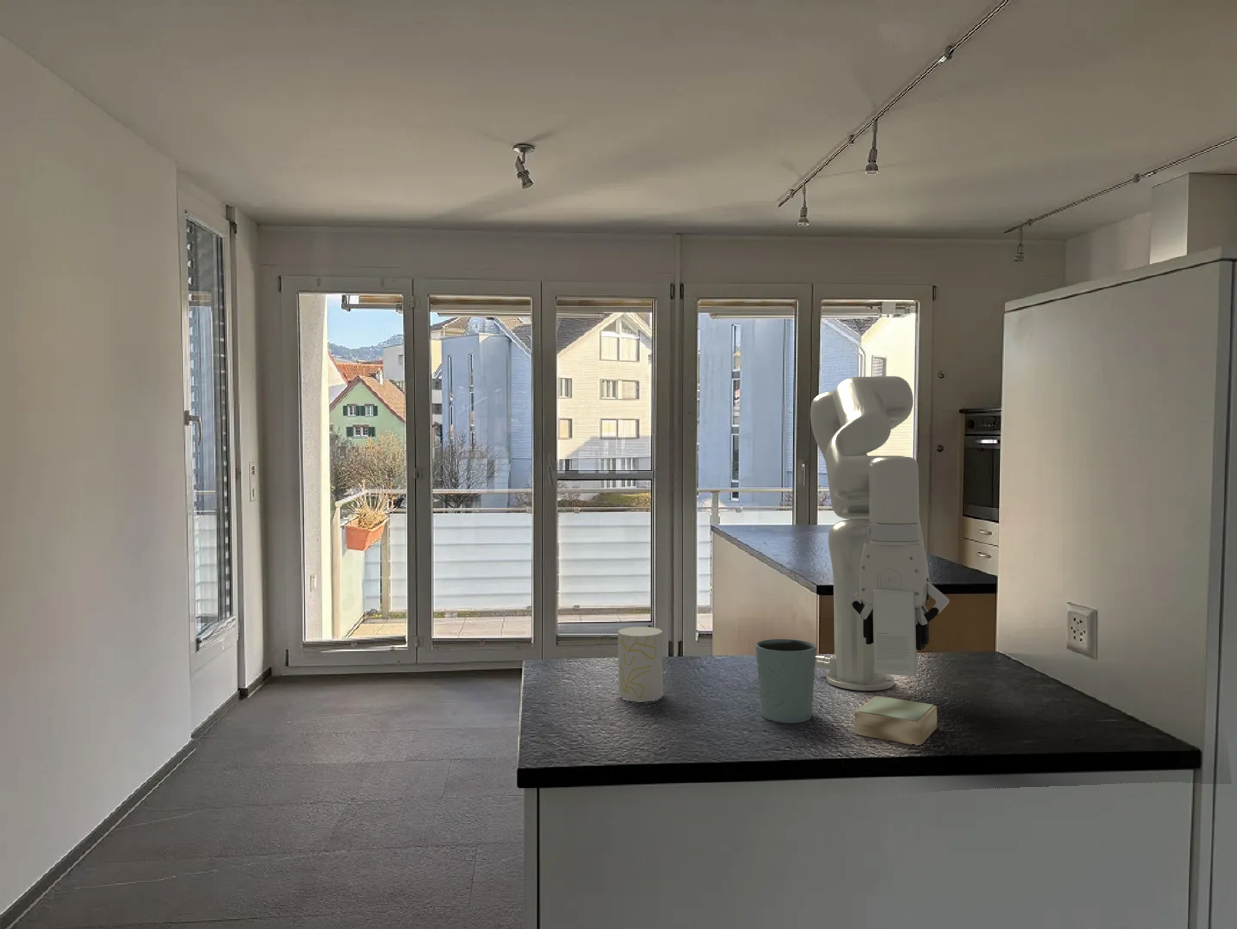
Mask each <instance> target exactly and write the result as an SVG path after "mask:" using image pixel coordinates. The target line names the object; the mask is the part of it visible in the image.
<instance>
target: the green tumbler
mask: <svg viewBox="0 0 1237 929" xmlns="http://www.w3.org/2000/svg"><path fill="white" fill-rule="evenodd" d="M755 653H756V654H755V656H756V663H757V673H758V674H757V679H758V691H759V692H758V693H759V694H758V695H759V708H760V714H761V716H762V718H764V719H765V720H768V721H771V720H772V721H771V722H774V723H775V722H776V723H781V724H782V723H783V724H798V723H803V722H807V721H809V720H811V718H812V715H813V699H814V687H815V686H814V684H815V667H816V664H815V660H816V656H817V645H816V644H815V643H813V642H810V641H804V640H801V639H800V640H799V639H788V638H776V639H775V638H773V639H764V640H760V641H758V642H756V643H755Z"/></svg>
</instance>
